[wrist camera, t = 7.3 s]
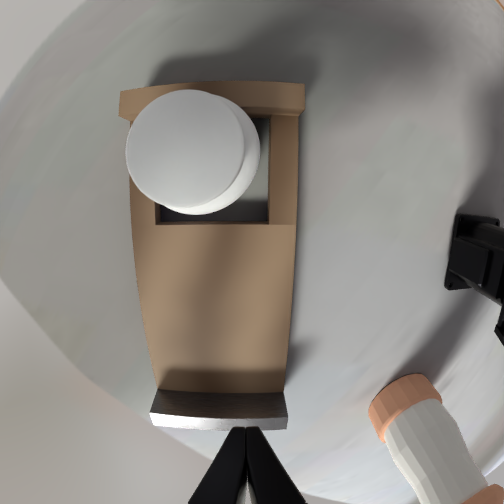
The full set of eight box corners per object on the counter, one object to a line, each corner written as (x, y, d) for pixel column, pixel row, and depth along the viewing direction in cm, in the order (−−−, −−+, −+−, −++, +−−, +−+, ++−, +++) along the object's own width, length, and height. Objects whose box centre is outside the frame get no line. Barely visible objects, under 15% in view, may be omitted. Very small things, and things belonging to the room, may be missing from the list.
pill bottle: (186, 110, 16) (140, 57, 7) (265, 133, 16) (289, 95, 8) (160, 188, 17) (92, 202, 8) (237, 212, 18) (234, 249, 9)
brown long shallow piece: (294, 98, 16) (308, 78, 12) (280, 394, 22) (286, 429, 18) (138, 102, 15) (113, 86, 11) (163, 391, 21) (153, 424, 17)
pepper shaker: (438, 379, 23) (524, 499, 4) (396, 424, 24) (457, 547, 6) (400, 366, 22) (501, 523, 3) (354, 418, 23) (413, 572, 5)
